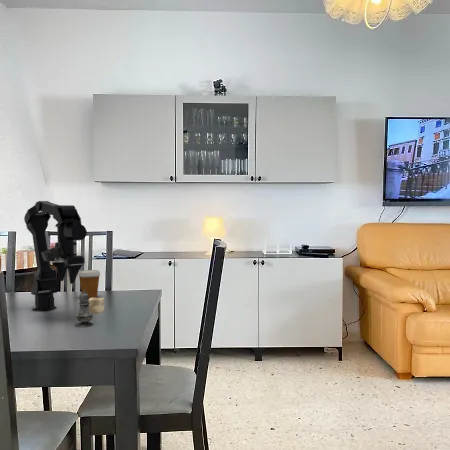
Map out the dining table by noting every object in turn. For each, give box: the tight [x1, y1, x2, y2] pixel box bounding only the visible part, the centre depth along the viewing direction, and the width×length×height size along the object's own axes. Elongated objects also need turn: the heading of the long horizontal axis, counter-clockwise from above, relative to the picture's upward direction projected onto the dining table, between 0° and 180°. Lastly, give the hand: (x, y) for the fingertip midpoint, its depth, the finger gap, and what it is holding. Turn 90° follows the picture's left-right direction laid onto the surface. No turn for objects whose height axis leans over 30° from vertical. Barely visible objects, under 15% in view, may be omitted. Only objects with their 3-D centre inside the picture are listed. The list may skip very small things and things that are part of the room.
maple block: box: [89, 297, 105, 314], centre depth 178 cm, size 5×5×5 cm
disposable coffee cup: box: [77, 269, 101, 299], centre depth 205 cm, size 10×10×12 cm
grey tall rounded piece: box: [75, 290, 94, 328], centre depth 157 cm, size 6×6×12 cm
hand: (66, 282), depth 169 cm, fingers open, 9 cm apart
